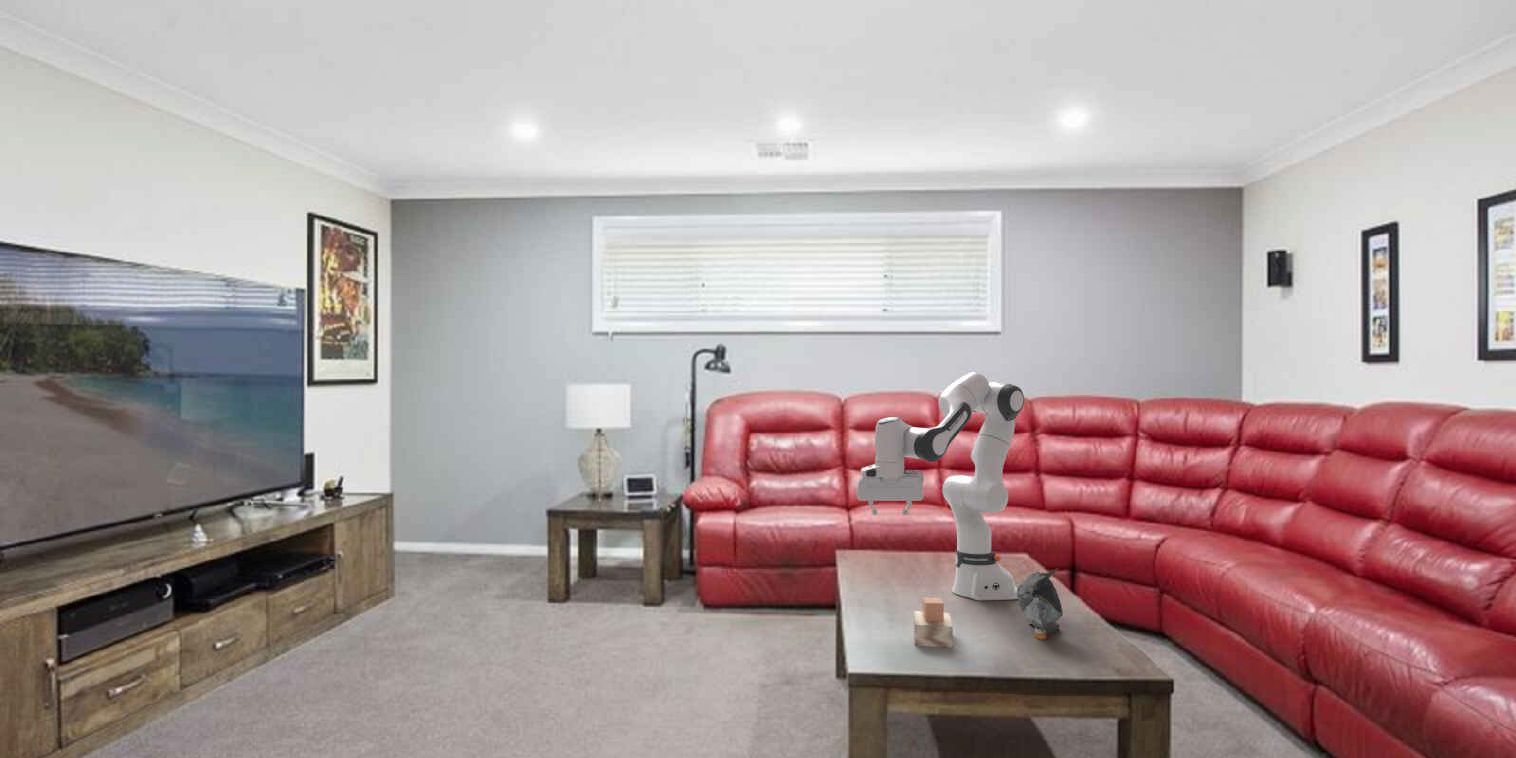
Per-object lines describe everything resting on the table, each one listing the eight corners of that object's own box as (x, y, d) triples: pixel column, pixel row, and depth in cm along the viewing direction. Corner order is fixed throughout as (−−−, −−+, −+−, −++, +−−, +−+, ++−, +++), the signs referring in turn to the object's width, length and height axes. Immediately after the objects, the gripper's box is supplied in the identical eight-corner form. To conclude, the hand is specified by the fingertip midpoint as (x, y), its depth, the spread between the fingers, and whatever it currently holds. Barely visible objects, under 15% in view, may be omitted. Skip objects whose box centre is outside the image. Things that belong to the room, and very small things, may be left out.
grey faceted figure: (1003, 633, 218) (1003, 570, 217) (1033, 622, 227) (1034, 562, 227) (1048, 647, 206) (1048, 581, 206) (1078, 635, 216) (1079, 572, 215)
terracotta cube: (940, 615, 216) (940, 598, 216) (943, 621, 211) (943, 603, 211) (922, 615, 216) (922, 597, 216) (925, 621, 211) (925, 603, 211)
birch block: (949, 633, 218) (949, 612, 218) (952, 648, 206) (952, 626, 206) (913, 631, 220) (913, 610, 220) (914, 646, 208) (914, 624, 208)
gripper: (922, 468, 237) (922, 512, 237) (856, 468, 239) (856, 512, 239) (925, 471, 231) (925, 516, 231) (857, 471, 232) (857, 516, 233)
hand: (890, 514), depth 235 cm, fingers open, 8 cm apart
